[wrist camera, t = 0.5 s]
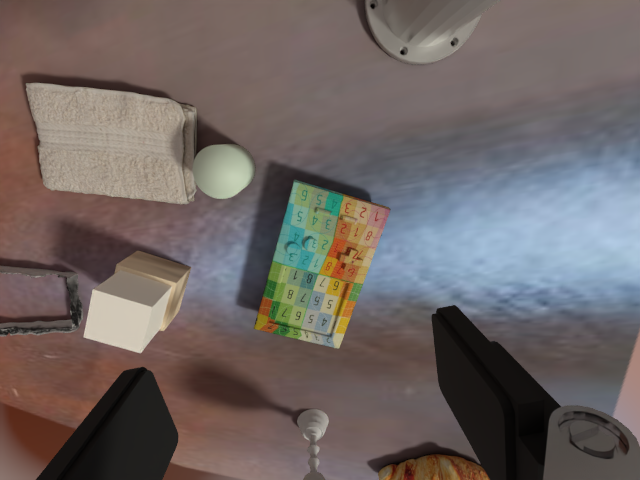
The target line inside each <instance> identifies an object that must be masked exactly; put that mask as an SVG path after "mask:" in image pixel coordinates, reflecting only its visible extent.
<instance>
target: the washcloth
mask: <svg viewBox="0 0 640 480" xmlns="http://www.w3.org/2000/svg"><path fill="white" fill-rule="evenodd" d="M26 87H27V88H26V91H27V96H28V101H29V105H30V108H31V112H32V116H33V118H34V121H35V123H36V127H37V133H38V138H39V140H40V145H38V152H39V162H40V165H41V167H40V169H41V173H42V178H43V184H44V185H45V186H46V187H47V188H48V189H51V190H55V189H56V190H59V191H73V192H76V193H80V192H83V193H86V194H89V193H91V194H98V195H108V196H111V197H115V196H116V197H124V198H128V197H129V198H131V199H145V200H155V201H159V202H160V201H161V202H166V203H177V204H188V203H189V202H190V201H194V200H195V199H194V194H195V192H196V191H197V190H196V187H195V186H196V182H195V180H194V177H193V170H192V169H193V162H194V159H195V157H196V144H197V115H196V111H197V110H196V108H195V107H191V106H190V105H183V104H180V103H177V102H176V101H174V100H172V99H168V98H161V97H153V96H149V95H142V94H137V93H134V92H126V91H116V90H104V89H95V88H89V87H72V86H61V85H55V84H45V83H26Z"/></svg>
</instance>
